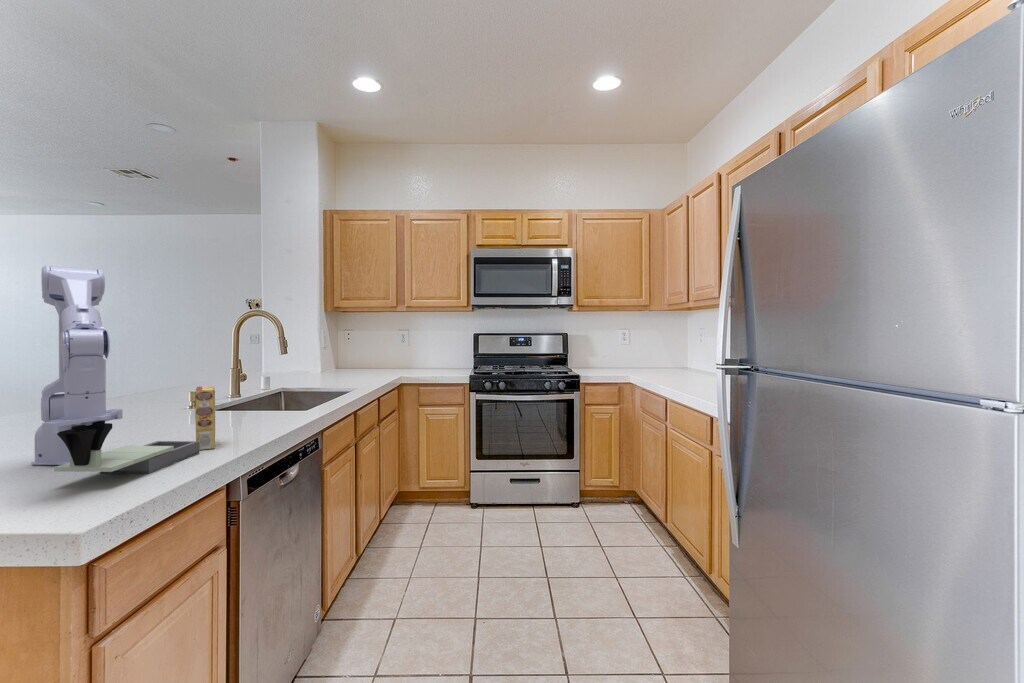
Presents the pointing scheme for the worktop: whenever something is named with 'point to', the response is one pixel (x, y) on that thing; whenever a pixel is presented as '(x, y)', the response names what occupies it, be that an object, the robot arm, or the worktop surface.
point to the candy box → (205, 417)
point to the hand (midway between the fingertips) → (85, 463)
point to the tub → (163, 457)
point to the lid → (115, 458)
